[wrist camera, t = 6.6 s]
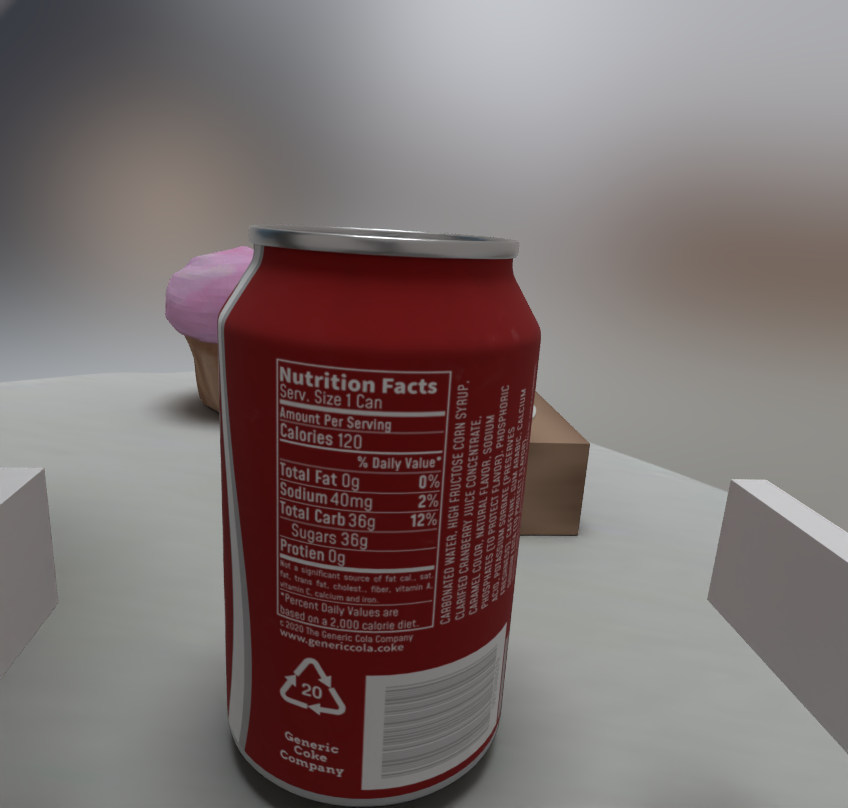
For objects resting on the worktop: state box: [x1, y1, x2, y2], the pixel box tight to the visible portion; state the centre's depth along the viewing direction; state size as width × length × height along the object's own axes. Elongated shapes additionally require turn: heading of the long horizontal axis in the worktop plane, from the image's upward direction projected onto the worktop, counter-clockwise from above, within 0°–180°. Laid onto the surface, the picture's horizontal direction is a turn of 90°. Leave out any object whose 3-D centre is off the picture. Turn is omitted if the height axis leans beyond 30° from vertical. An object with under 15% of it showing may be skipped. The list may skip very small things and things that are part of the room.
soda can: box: [217, 225, 541, 807], centre depth 15 cm, size 7×7×12 cm
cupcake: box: [165, 246, 254, 412], centre depth 41 cm, size 9×9×10 cm
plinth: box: [520, 391, 590, 535], centre depth 31 cm, size 10×10×4 cm
